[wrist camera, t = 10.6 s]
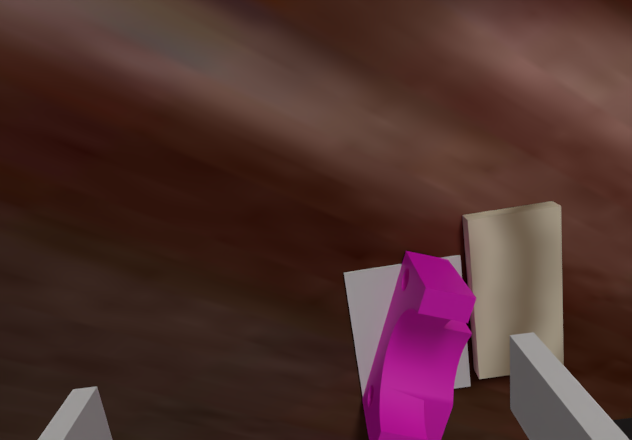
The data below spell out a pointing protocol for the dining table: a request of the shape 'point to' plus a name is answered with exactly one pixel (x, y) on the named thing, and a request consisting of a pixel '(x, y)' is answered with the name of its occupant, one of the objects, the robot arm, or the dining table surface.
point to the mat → (382, 315)
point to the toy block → (418, 352)
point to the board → (514, 281)
